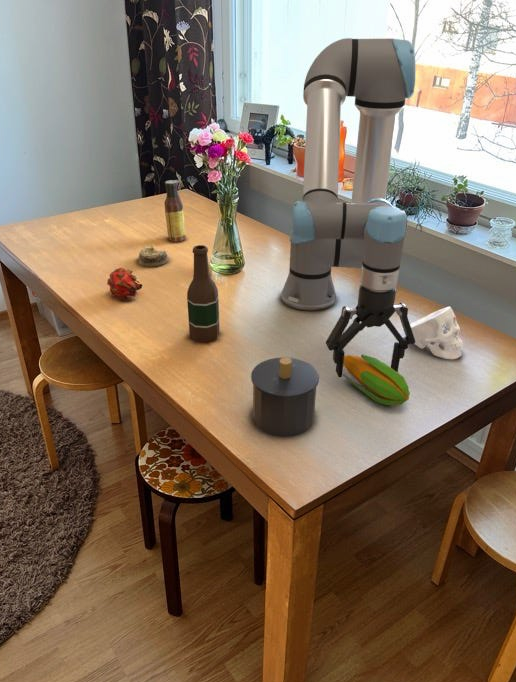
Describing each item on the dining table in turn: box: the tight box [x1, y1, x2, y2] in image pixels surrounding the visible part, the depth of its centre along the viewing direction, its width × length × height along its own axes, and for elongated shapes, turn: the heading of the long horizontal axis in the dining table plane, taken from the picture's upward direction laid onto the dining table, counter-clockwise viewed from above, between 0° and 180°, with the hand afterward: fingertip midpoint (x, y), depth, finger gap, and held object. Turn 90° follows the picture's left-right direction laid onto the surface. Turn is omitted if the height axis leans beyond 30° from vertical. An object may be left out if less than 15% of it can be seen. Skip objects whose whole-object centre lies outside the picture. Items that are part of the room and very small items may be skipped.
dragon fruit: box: [106, 267, 143, 301], centre depth 167 cm, size 8×8×12 cm
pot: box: [252, 384, 317, 437], centre depth 121 cm, size 13×13×10 cm
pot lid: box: [250, 357, 320, 398], centre depth 117 cm, size 14×14×5 cm
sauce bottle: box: [164, 179, 187, 243], centre depth 200 cm, size 7×6×20 cm
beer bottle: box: [186, 244, 220, 344], centre depth 144 cm, size 8×8×24 cm
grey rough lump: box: [138, 245, 170, 268], centre depth 188 cm, size 10×10×5 cm
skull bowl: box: [403, 306, 464, 360], centre depth 145 cm, size 10×14×12 cm
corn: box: [342, 354, 411, 406], centre depth 130 cm, size 7×8×20 cm
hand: (366, 372), depth 133 cm, fingers open, 12 cm apart
